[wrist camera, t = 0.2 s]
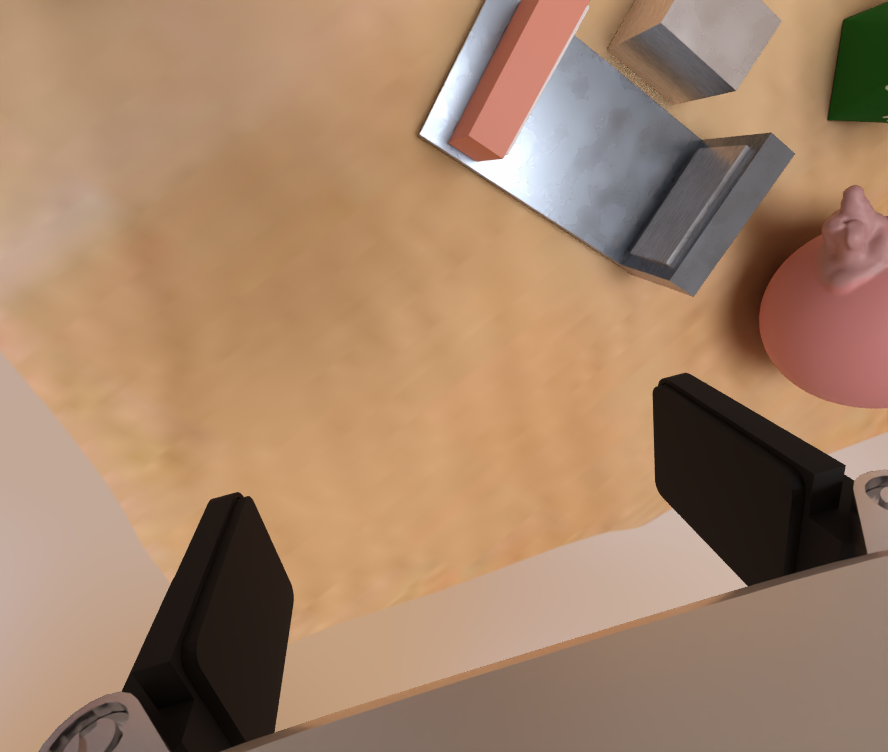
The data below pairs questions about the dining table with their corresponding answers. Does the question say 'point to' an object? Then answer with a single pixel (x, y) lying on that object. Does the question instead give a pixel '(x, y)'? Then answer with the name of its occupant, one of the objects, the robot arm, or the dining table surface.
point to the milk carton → (862, 68)
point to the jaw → (516, 76)
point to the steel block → (693, 44)
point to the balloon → (834, 309)
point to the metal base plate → (614, 162)
